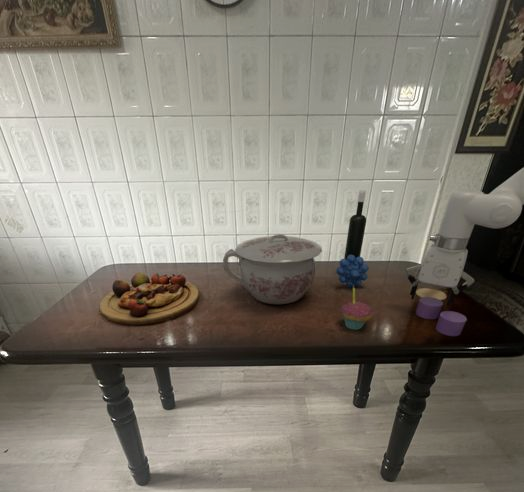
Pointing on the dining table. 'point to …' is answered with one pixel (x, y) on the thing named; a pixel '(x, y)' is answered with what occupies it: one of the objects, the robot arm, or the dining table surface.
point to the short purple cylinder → (451, 323)
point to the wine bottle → (356, 229)
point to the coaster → (431, 293)
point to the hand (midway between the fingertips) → (429, 300)
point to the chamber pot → (275, 267)
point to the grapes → (352, 271)
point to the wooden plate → (148, 299)
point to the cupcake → (356, 313)
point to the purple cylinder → (429, 307)
